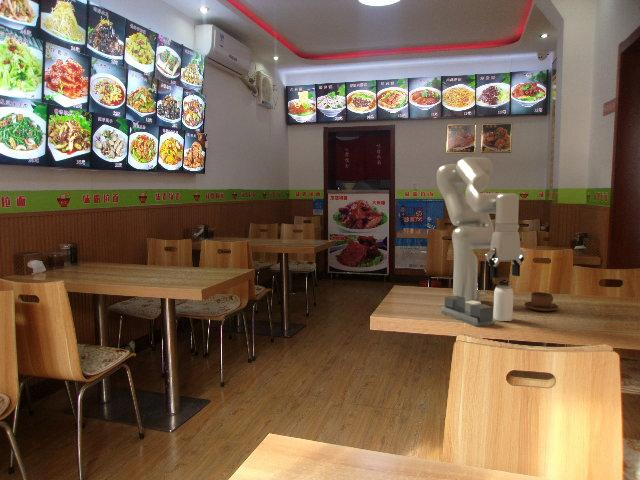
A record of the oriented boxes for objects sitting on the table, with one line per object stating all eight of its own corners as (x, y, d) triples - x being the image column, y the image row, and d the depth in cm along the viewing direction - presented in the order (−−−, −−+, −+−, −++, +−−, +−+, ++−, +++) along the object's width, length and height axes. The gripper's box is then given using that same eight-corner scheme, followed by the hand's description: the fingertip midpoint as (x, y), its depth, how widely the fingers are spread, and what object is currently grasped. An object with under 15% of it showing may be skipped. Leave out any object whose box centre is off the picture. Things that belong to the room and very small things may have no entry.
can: (510, 323, 175) (511, 289, 174) (491, 320, 179) (492, 287, 177) (514, 318, 181) (515, 286, 179) (495, 316, 184) (496, 284, 183)
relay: (472, 310, 194) (472, 300, 193) (480, 312, 191) (481, 302, 190) (463, 312, 191) (464, 302, 190) (472, 314, 188) (473, 304, 187)
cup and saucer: (531, 304, 204) (532, 289, 203) (562, 309, 195) (563, 294, 195) (519, 309, 195) (519, 294, 195) (550, 315, 187) (551, 299, 186)
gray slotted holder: (458, 311, 192) (459, 295, 191) (494, 324, 173) (495, 306, 173) (441, 313, 189) (441, 297, 188) (476, 326, 170) (476, 308, 170)
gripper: (517, 227, 183) (516, 273, 184) (479, 228, 176) (478, 276, 178) (533, 228, 176) (531, 276, 177) (494, 229, 170) (492, 279, 171)
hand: (505, 276), depth 178 cm, fingers open, 9 cm apart
